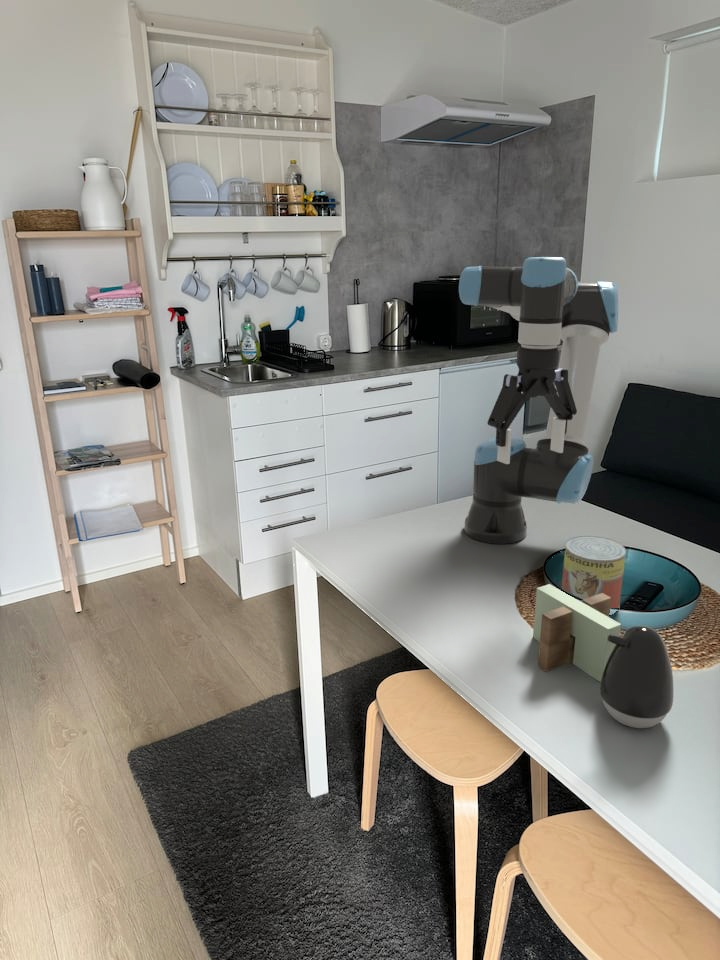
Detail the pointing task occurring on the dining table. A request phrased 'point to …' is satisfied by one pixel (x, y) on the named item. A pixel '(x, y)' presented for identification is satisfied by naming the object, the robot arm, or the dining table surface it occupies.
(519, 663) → the dining table surface
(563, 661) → the brown u-shaped block
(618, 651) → the pump dispenser
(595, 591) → the canned food
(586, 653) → the green arch bridge
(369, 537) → the dining table surface
